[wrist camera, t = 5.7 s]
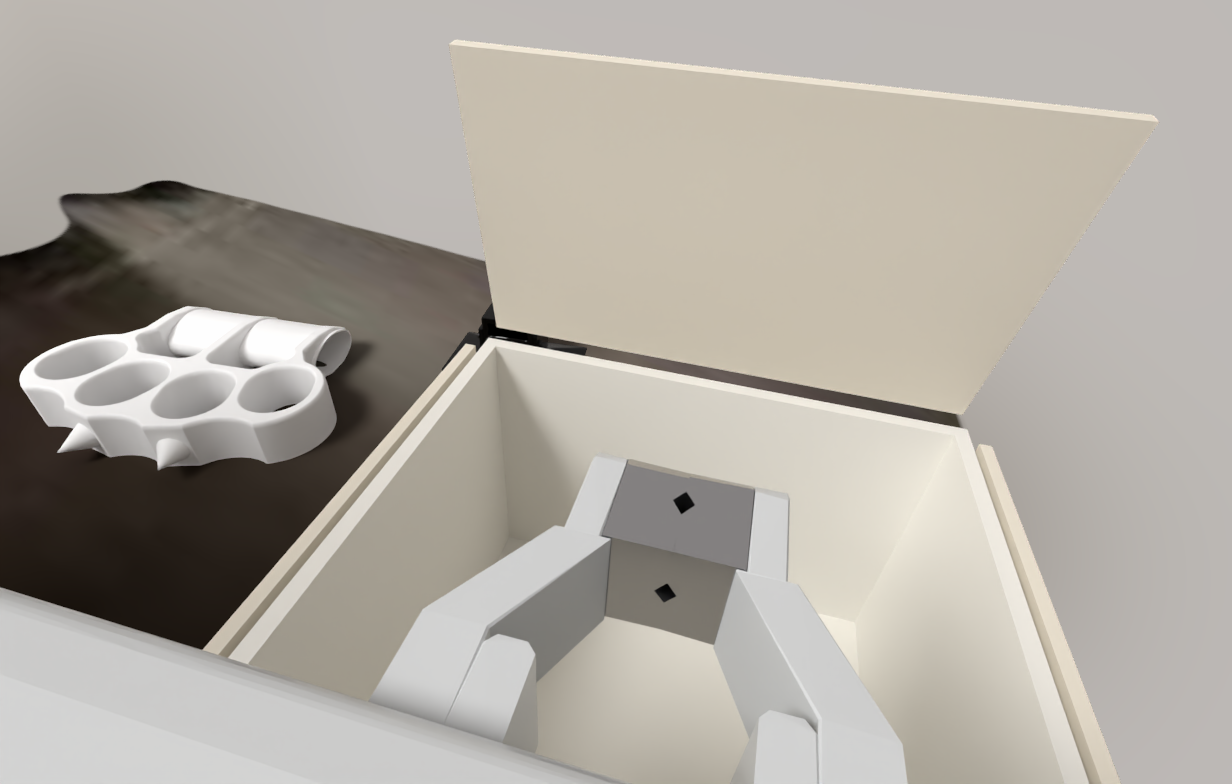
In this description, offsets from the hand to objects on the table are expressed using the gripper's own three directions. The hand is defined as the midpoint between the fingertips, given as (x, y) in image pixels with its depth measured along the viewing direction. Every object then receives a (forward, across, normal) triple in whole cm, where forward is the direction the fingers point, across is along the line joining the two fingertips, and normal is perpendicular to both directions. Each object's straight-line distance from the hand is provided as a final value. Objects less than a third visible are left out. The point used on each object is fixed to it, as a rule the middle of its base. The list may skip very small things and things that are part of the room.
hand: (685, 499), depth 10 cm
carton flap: (+11, 0, 0) cm, 11 cm away
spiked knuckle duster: (+17, +31, +19) cm, 40 cm away
